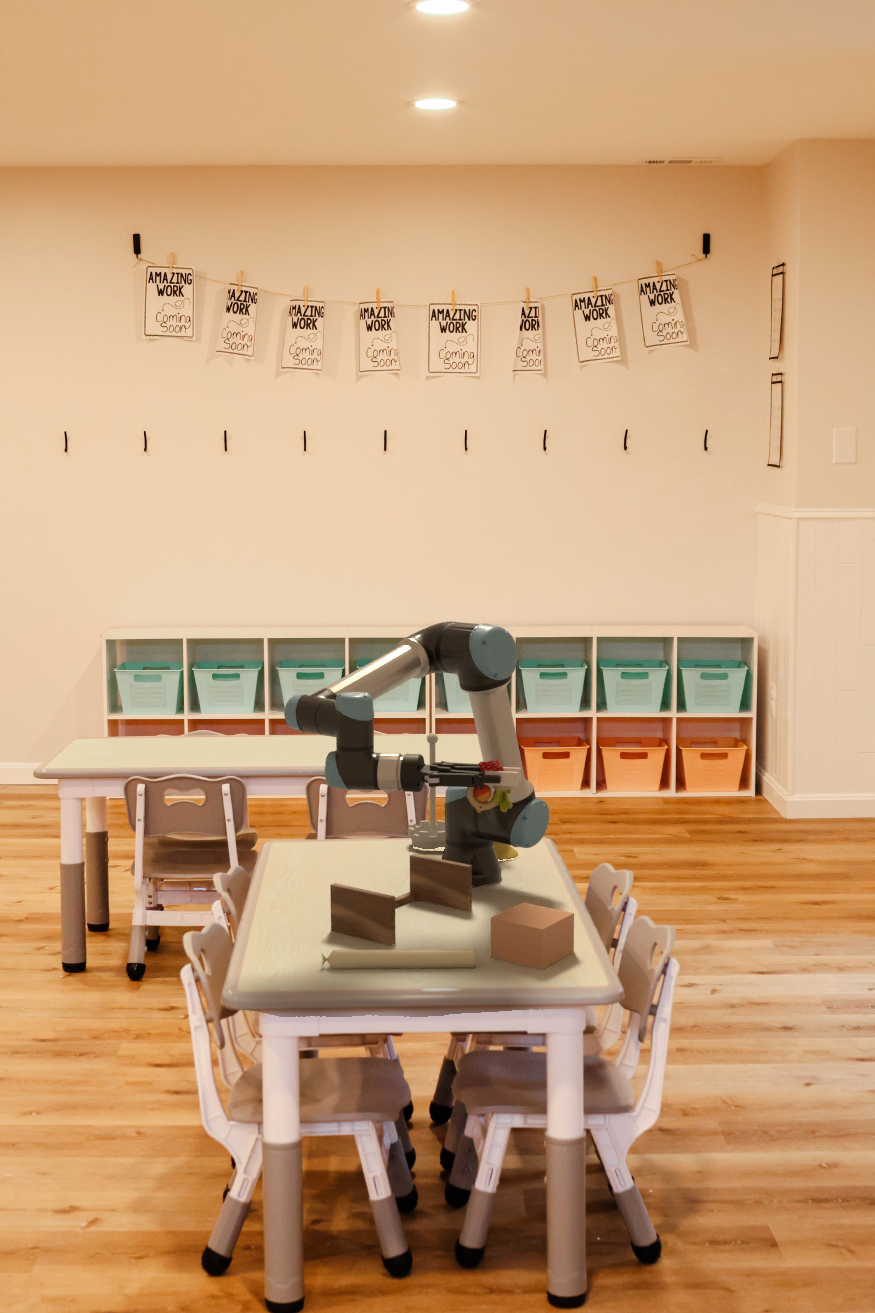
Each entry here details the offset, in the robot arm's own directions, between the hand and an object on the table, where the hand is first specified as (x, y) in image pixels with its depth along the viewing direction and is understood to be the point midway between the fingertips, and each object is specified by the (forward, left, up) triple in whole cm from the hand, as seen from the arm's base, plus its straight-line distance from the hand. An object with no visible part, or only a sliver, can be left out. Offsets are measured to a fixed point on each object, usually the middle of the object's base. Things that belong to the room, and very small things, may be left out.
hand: (519, 777), depth 256 cm
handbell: (-58, -44, -36) cm, 81 cm away
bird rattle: (+2, -5, -7) cm, 9 cm away
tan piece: (+19, -15, -37) cm, 44 cm away
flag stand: (-56, -62, -36) cm, 91 cm away
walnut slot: (-4, -32, -36) cm, 48 cm away
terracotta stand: (-2, +2, -36) cm, 36 cm away
